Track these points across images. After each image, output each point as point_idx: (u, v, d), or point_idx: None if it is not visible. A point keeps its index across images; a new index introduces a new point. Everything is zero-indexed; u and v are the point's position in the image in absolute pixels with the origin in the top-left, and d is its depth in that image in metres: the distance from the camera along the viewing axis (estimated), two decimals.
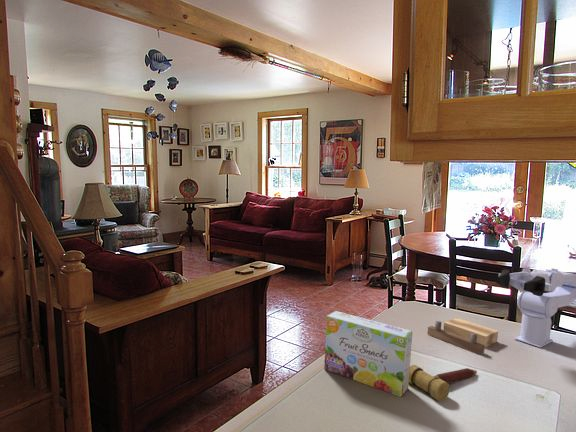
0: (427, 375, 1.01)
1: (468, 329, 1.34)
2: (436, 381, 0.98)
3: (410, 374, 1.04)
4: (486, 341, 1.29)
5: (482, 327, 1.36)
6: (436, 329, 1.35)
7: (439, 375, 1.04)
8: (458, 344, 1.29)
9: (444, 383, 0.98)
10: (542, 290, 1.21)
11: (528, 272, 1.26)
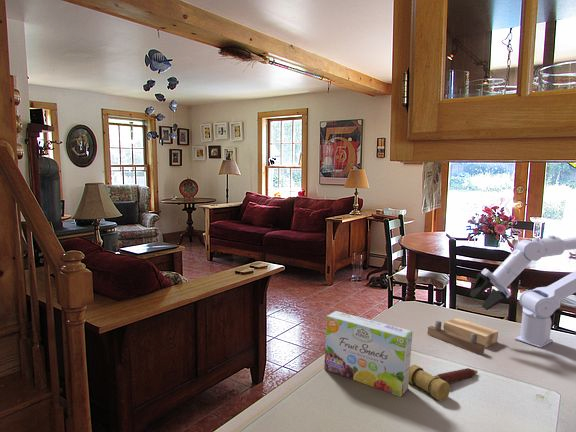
0: (427, 375, 1.01)
1: (468, 329, 1.34)
2: (436, 381, 0.98)
3: (410, 374, 1.04)
4: (485, 341, 1.28)
5: (482, 327, 1.36)
6: (436, 329, 1.35)
7: (440, 375, 1.04)
8: (458, 344, 1.29)
9: (444, 383, 0.98)
10: (485, 279, 1.30)
11: None
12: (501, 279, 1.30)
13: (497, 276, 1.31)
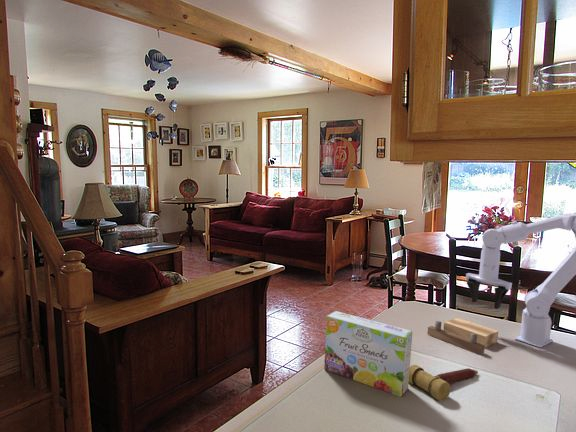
0: (428, 375, 1.02)
1: (468, 329, 1.34)
2: (436, 381, 0.98)
3: (411, 374, 1.04)
4: (485, 341, 1.28)
5: (482, 327, 1.36)
6: (436, 329, 1.35)
7: (440, 375, 1.04)
8: (458, 344, 1.29)
9: (445, 383, 0.98)
10: None
11: None
12: (479, 275, 1.40)
13: None
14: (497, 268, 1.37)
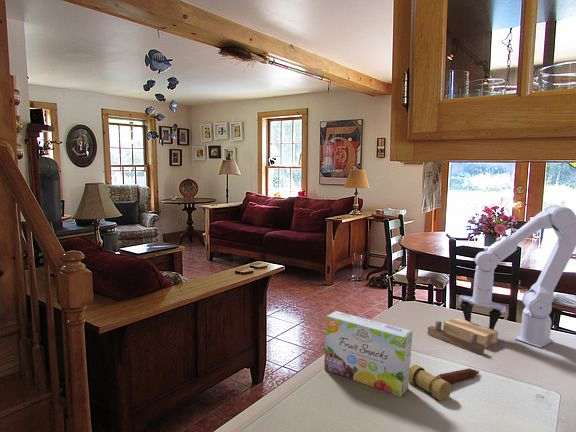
0: (429, 375, 1.02)
1: (467, 328, 1.34)
2: (437, 381, 0.98)
3: (412, 374, 1.04)
4: (484, 341, 1.28)
5: (482, 327, 1.35)
6: (436, 329, 1.35)
7: (441, 375, 1.04)
8: (458, 344, 1.29)
9: (445, 383, 0.98)
10: None
11: None
12: (473, 298, 1.39)
13: (472, 297, 1.40)
14: (491, 291, 1.36)
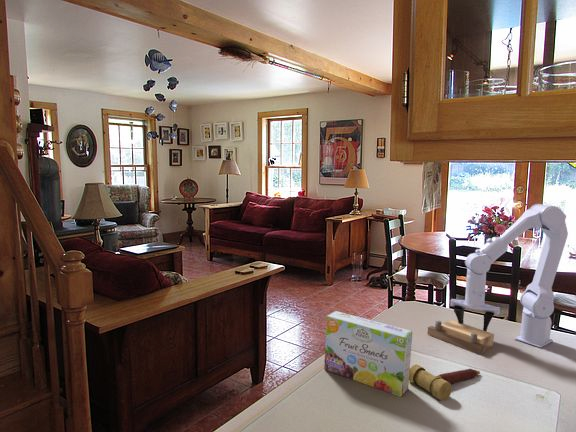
0: (429, 375, 1.02)
1: (463, 331, 1.31)
2: (438, 381, 0.98)
3: (412, 374, 1.04)
4: None
5: (478, 330, 1.33)
6: (436, 329, 1.35)
7: (441, 375, 1.04)
8: (458, 344, 1.29)
9: (446, 383, 0.98)
10: None
11: None
12: (466, 302, 1.35)
13: (465, 300, 1.37)
14: (484, 293, 1.34)
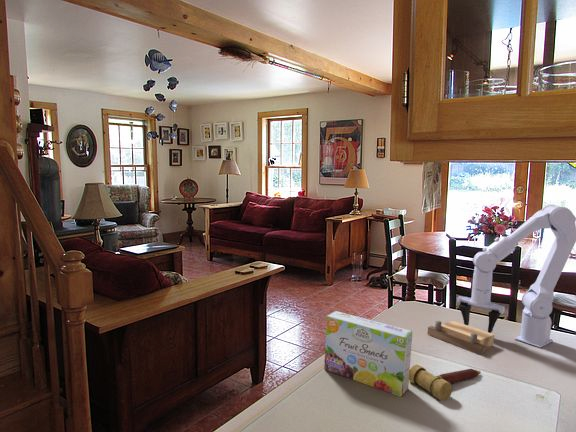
0: (430, 375, 1.02)
1: (463, 332, 1.31)
2: (438, 381, 0.98)
3: (413, 374, 1.04)
4: None
5: (478, 330, 1.33)
6: (436, 329, 1.35)
7: (442, 375, 1.04)
8: (458, 344, 1.29)
9: (446, 383, 0.98)
10: None
11: None
12: (472, 299, 1.38)
13: (471, 298, 1.39)
14: (490, 292, 1.35)
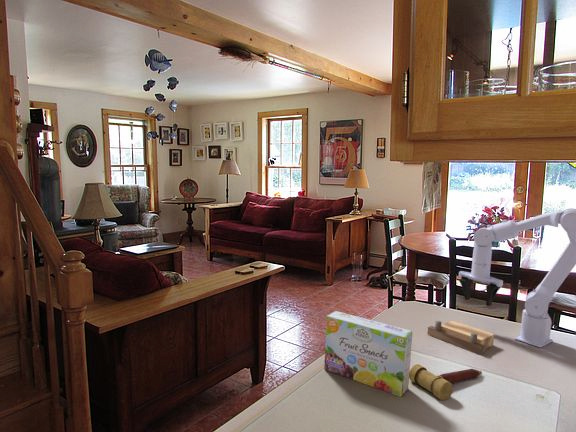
0: (430, 375, 1.02)
1: (463, 332, 1.31)
2: (438, 381, 0.98)
3: (413, 373, 1.04)
4: None
5: (478, 330, 1.33)
6: (436, 329, 1.35)
7: (443, 375, 1.04)
8: (458, 344, 1.29)
9: (447, 383, 0.98)
10: None
11: None
12: (471, 273, 1.42)
13: None
14: (489, 266, 1.39)
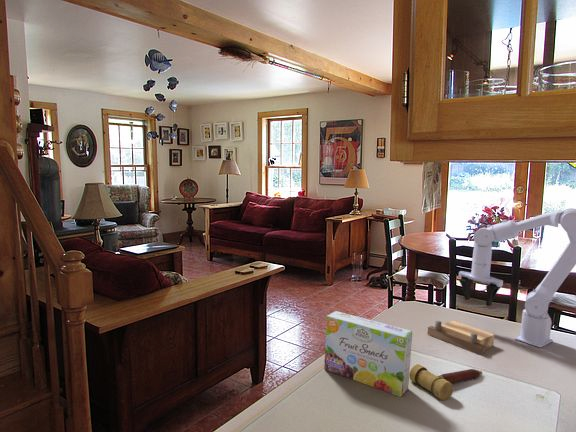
0: (431, 375, 1.02)
1: (463, 332, 1.31)
2: (439, 381, 0.99)
3: (414, 373, 1.04)
4: None
5: (478, 330, 1.33)
6: (436, 329, 1.35)
7: (443, 375, 1.04)
8: (458, 344, 1.29)
9: (447, 383, 0.98)
10: None
11: None
12: (471, 273, 1.42)
13: None
14: (489, 266, 1.39)
